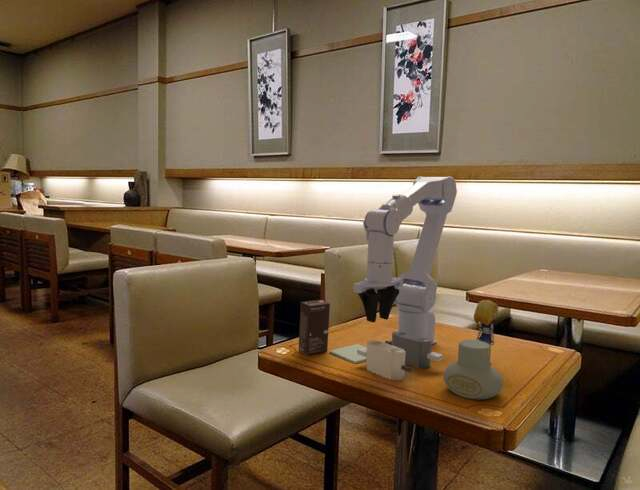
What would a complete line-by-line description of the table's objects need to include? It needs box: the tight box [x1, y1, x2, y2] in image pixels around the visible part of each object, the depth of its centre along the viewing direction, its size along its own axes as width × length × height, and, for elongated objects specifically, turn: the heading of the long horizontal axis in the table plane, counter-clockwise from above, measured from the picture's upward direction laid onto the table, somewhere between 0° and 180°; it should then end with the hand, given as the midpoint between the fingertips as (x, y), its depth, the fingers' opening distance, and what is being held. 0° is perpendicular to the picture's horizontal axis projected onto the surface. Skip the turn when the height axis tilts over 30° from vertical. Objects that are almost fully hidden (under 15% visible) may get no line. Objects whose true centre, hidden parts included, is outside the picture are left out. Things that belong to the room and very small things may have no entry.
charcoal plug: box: [384, 331, 444, 369], centre depth 109 cm, size 14×4×6 cm, turn 46°
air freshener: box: [443, 339, 504, 401], centre depth 92 cm, size 11×8×10 cm
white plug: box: [357, 339, 413, 382], centre depth 102 cm, size 14×4×6 cm, turn 39°
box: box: [298, 299, 331, 356], centre depth 115 cm, size 6×4×12 cm
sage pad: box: [329, 343, 367, 365], centre depth 114 cm, size 9×9×1 cm
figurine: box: [473, 299, 499, 366], centre depth 108 cm, size 5×5×15 cm
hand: (377, 320), depth 111 cm, fingers open, 4 cm apart
